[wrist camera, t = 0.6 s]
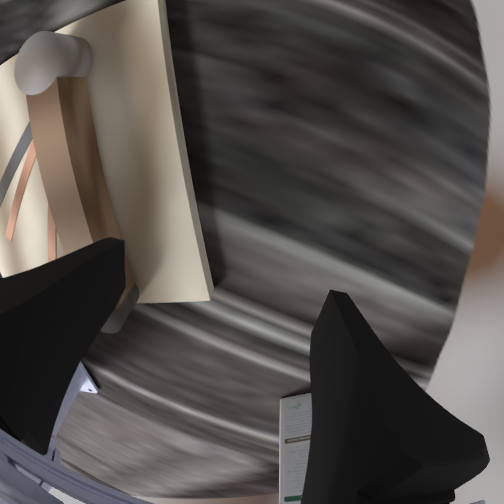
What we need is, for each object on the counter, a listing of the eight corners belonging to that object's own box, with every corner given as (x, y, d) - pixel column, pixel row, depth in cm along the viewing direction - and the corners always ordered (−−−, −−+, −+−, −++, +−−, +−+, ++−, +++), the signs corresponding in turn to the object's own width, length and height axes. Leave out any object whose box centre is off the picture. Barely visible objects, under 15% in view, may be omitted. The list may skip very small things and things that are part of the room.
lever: (45, 49, 13) (12, 48, 10) (90, 28, 13) (58, 20, 10) (108, 305, 21) (89, 332, 19) (150, 304, 21) (134, 334, 18)
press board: (22, 294, 25) (13, 303, 23) (-32, 97, 16) (-45, 99, 15) (213, 288, 22) (209, 301, 21) (165, -4, 14) (155, -11, 12)
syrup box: (278, 397, 28) (272, 542, 15) (340, 385, 26) (357, 533, 13) (291, 426, 30) (289, 550, 17) (346, 416, 29) (359, 542, 16)
